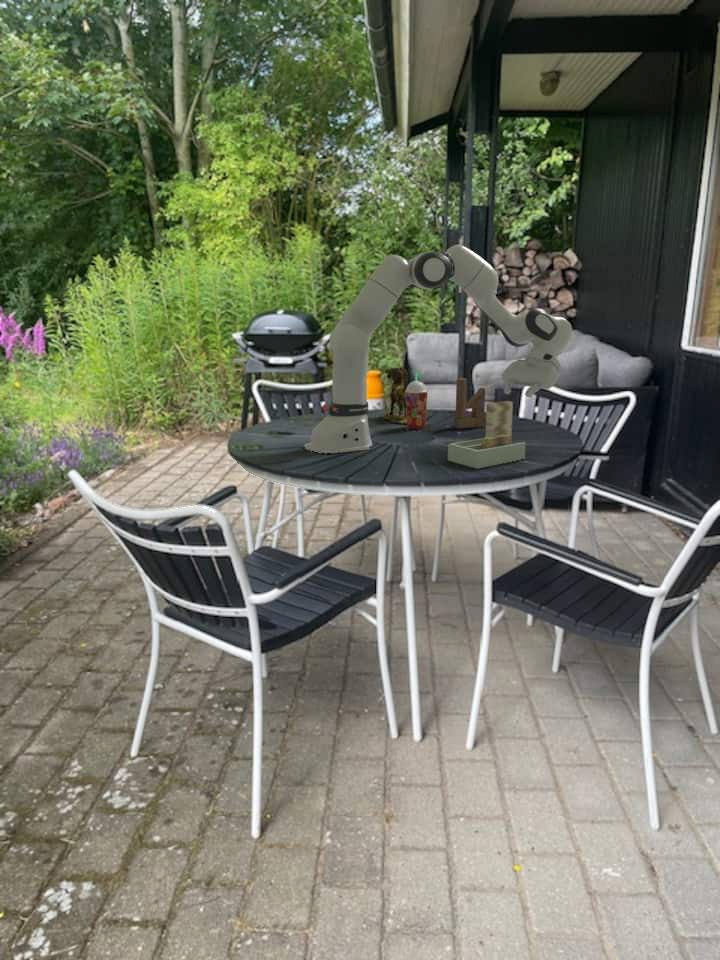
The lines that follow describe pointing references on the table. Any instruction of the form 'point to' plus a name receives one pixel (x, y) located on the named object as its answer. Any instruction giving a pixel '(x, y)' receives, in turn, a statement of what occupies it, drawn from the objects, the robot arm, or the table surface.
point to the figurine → (397, 395)
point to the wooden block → (469, 407)
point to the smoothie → (416, 404)
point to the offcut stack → (496, 441)
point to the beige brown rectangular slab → (499, 418)
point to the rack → (484, 453)
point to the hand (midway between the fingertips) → (516, 394)
